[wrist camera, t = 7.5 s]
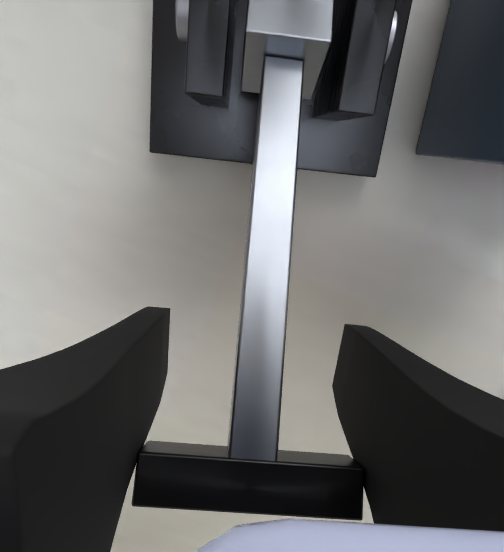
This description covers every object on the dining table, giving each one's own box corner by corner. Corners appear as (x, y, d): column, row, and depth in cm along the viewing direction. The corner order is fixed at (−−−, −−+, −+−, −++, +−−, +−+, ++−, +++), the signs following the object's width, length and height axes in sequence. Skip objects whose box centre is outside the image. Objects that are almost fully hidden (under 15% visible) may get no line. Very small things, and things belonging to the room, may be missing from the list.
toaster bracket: (366, 174, 16) (422, 192, 11) (156, 151, 16) (115, 158, 11) (414, -66, 14) (515, -185, 9) (163, -103, 13) (113, -251, 8)
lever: (339, 492, 10) (374, 535, 8) (146, 480, 10) (123, 520, 8) (359, 27, 13) (389, -44, 11) (204, 7, 13) (200, -71, 10)
